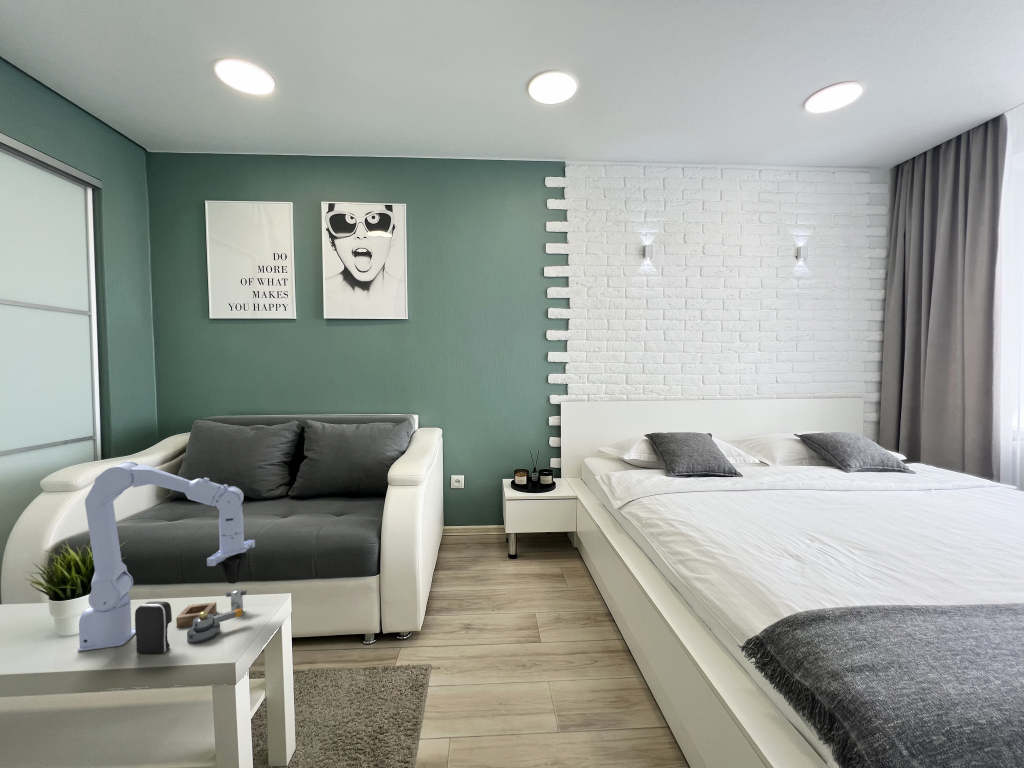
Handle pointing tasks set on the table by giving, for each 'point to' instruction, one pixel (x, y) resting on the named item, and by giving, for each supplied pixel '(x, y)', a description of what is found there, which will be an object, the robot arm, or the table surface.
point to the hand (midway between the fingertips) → (233, 582)
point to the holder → (194, 613)
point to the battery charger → (152, 627)
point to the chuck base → (203, 632)
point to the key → (236, 598)
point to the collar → (214, 620)
